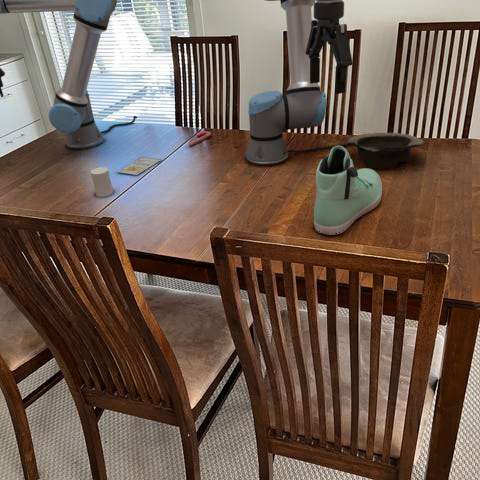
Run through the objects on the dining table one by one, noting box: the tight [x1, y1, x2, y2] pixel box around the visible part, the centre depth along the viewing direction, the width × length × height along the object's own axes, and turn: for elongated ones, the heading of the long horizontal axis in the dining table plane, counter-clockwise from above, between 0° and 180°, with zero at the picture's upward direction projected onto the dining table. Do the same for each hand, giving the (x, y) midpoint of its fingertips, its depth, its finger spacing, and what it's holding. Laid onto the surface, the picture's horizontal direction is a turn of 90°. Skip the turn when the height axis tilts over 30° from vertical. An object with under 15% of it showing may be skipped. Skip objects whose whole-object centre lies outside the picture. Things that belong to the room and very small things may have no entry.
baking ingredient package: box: [117, 157, 161, 176], centre depth 177 cm, size 9×1×15 cm
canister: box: [90, 166, 114, 198], centre depth 158 cm, size 6×6×8 cm
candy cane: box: [188, 130, 212, 147], centre depth 198 cm, size 6×15×2 cm, turn 145°
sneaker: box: [313, 146, 383, 236], centre depth 133 cm, size 14×35×20 cm, turn 152°
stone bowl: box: [347, 132, 426, 170], centre depth 165 cm, size 25×25×9 cm
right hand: (326, 87), depth 130 cm, fingers open, 13 cm apart
